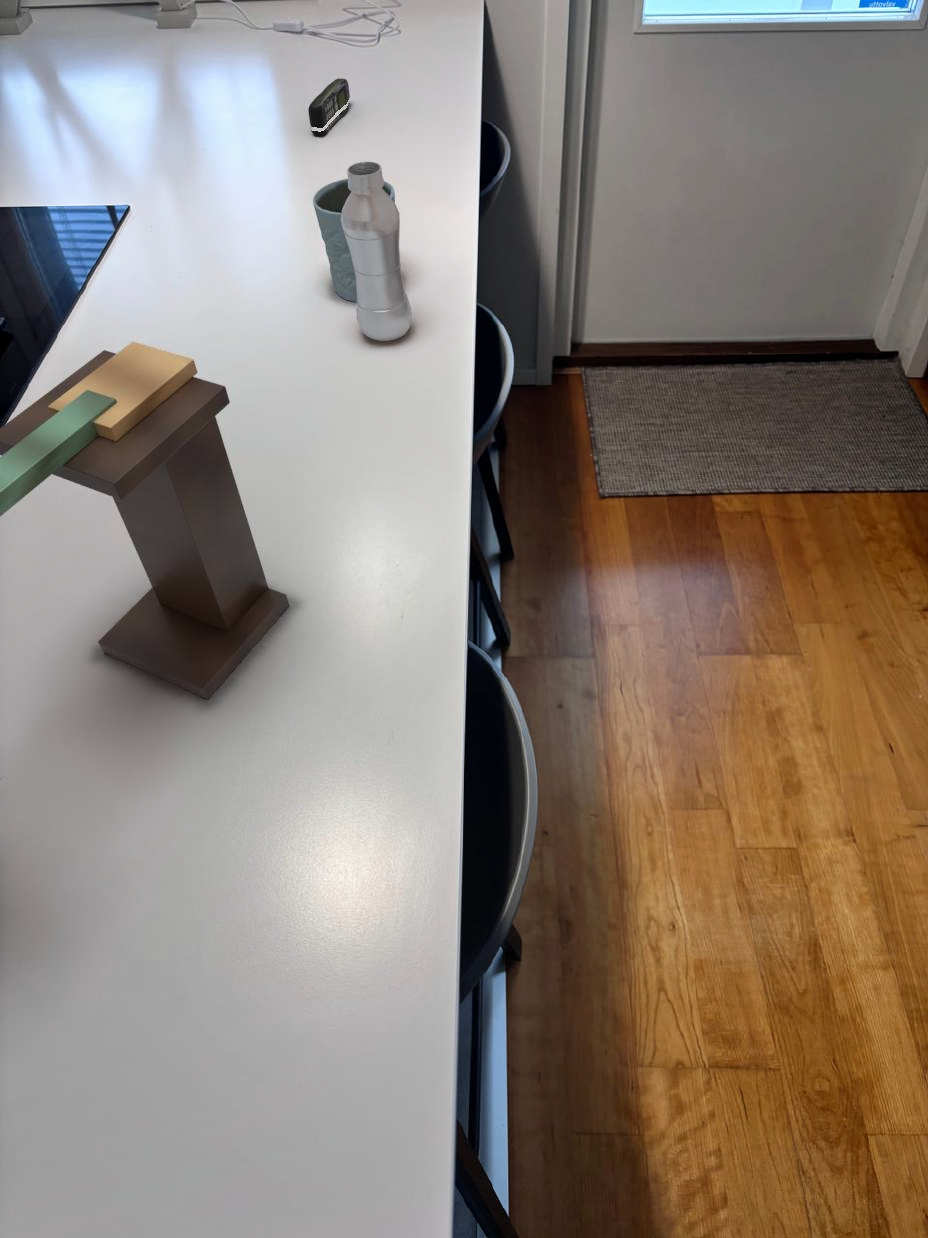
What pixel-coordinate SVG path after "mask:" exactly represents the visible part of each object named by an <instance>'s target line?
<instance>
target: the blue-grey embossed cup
mask: <svg viewBox="0 0 928 1238" xmlns="http://www.w3.org/2000/svg"><path fill="white" fill-rule="evenodd" d="M382 189H383V190H384V191H385V192H386V193H387V194H388V195H389V196H390V198H391V199H392V200H393V202H394V203H395V204H396V195H395V189H394V187H393V185H392V184H390V183H389V182H387V181H385V180H384V186H383V187H382ZM350 193H351V190H349V188H348V178H344V179H340V180H336V181H333V182H330V183H328V184H326V185H324V186H322V187H321V188H320V189H319V190H317V191H316V192H315V194H314V195H313V198H312V204H313V208H314V212H315V215H316V219H317V223H318V227H319V229H320V235H321V238H322V240H323V243H324V245H325V246H324V247H325V253H326V256H327V257H328V258H327V260H328V263H329V269H330V270H329V271H330V275H331V279H332V283H333V287H334V290H335V293H336V294H337V296H338V297H340V298H342V299H344V300H346V301H349V302H352V303H357V288H356V276H355V271H354V265H353V262H352V257H351V253H350V249H349V246H348V243H347V240H346V237H345V234H344V230H343V227H342V223H341V213H342V209H343V207H344V204H345V202H346V200H347V198H348V197H349V195H350Z"/></svg>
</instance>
